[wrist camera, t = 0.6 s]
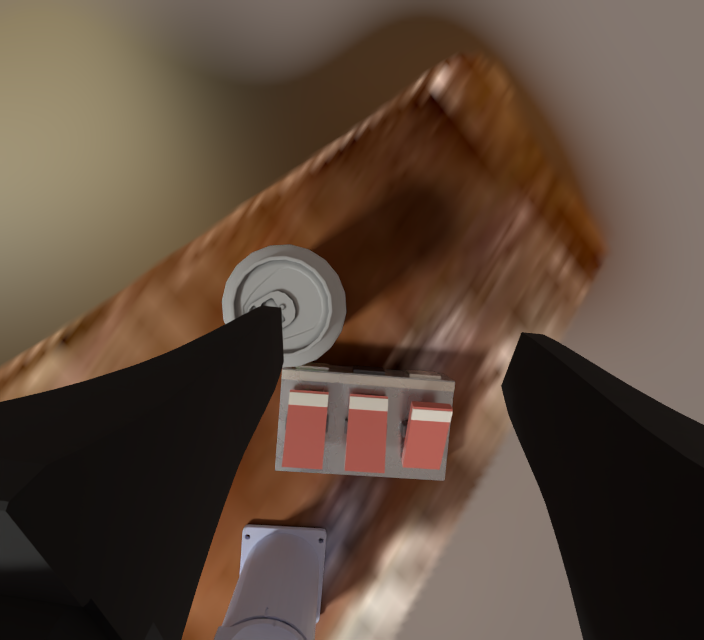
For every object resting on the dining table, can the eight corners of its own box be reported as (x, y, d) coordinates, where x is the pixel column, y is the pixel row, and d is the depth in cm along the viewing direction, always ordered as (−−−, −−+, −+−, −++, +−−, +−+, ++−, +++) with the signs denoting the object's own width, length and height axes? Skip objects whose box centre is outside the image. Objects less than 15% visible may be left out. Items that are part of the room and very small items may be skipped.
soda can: (248, 290, 30) (189, 283, 18) (317, 249, 30) (303, 215, 18) (290, 359, 31) (259, 395, 19) (358, 318, 31) (371, 329, 19)
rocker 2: (383, 470, 27) (384, 473, 26) (344, 468, 27) (344, 470, 26) (386, 396, 28) (388, 396, 27) (349, 393, 28) (350, 393, 27)
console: (434, 463, 32) (447, 485, 28) (281, 454, 31) (273, 475, 28) (444, 371, 32) (458, 380, 28) (288, 359, 31) (281, 367, 27)
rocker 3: (437, 462, 29) (439, 470, 28) (401, 460, 29) (402, 467, 28) (449, 403, 27) (453, 409, 26) (411, 401, 27) (413, 406, 26)
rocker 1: (322, 467, 27) (322, 469, 26) (283, 464, 27) (281, 467, 26) (328, 392, 28) (328, 392, 27) (291, 389, 28) (290, 389, 27)
